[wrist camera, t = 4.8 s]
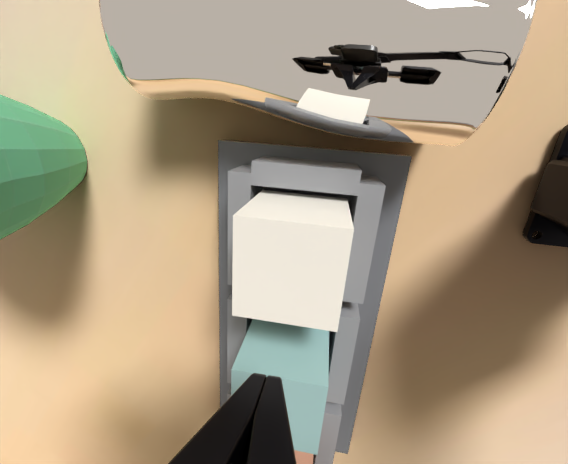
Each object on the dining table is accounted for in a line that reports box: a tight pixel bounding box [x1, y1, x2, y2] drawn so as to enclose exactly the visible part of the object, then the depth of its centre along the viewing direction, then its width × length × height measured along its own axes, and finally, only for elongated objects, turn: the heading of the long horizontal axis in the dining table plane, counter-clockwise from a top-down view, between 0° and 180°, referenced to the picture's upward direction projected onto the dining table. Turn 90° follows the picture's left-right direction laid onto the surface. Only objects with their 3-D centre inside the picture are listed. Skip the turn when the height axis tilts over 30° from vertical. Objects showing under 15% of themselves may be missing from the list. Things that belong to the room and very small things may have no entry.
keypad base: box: [218, 140, 412, 464], centre depth 19 cm, size 11×24×4 cm, turn 175°
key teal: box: [231, 319, 329, 455], centre depth 16 cm, size 4×4×5 cm
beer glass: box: [99, 0, 537, 146], centre depth 13 cm, size 7×7×15 cm
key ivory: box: [232, 190, 354, 332], centre depth 14 cm, size 4×4×5 cm
